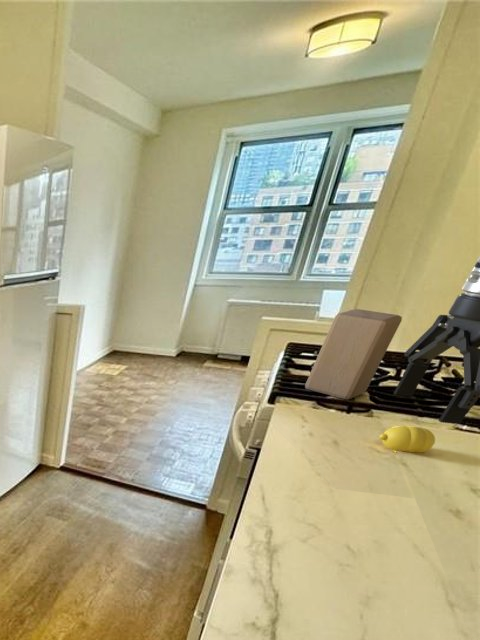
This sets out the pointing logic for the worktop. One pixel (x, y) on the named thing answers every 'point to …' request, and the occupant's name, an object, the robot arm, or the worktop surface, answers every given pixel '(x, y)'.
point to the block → (352, 352)
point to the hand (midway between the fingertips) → (424, 408)
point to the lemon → (408, 439)
